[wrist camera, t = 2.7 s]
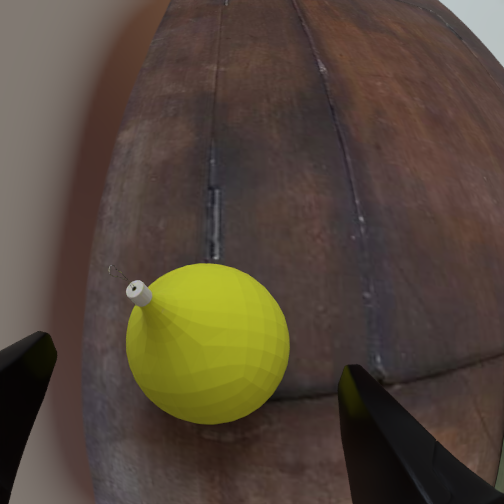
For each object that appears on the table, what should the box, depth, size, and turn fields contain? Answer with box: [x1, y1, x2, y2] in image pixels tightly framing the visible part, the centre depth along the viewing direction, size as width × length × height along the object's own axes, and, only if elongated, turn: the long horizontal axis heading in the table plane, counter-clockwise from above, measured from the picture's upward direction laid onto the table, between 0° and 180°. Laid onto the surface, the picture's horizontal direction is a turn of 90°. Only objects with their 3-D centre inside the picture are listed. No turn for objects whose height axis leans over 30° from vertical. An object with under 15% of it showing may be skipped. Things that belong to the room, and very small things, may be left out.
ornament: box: [109, 264, 290, 425], centre depth 12 cm, size 7×7×10 cm
